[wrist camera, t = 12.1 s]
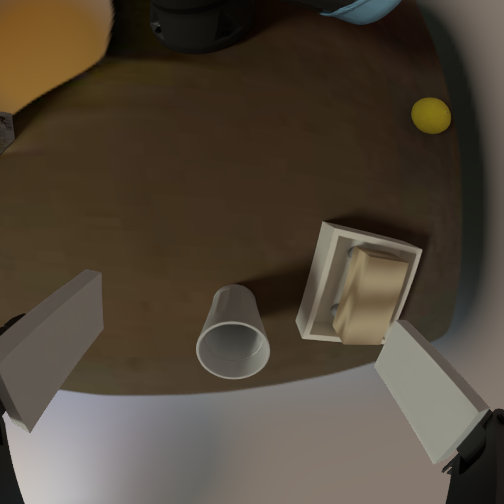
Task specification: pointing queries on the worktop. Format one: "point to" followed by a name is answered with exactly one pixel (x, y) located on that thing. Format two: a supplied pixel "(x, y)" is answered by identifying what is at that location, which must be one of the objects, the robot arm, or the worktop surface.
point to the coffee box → (6, 130)
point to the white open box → (344, 277)
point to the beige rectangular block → (369, 296)
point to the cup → (233, 335)
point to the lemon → (431, 115)
